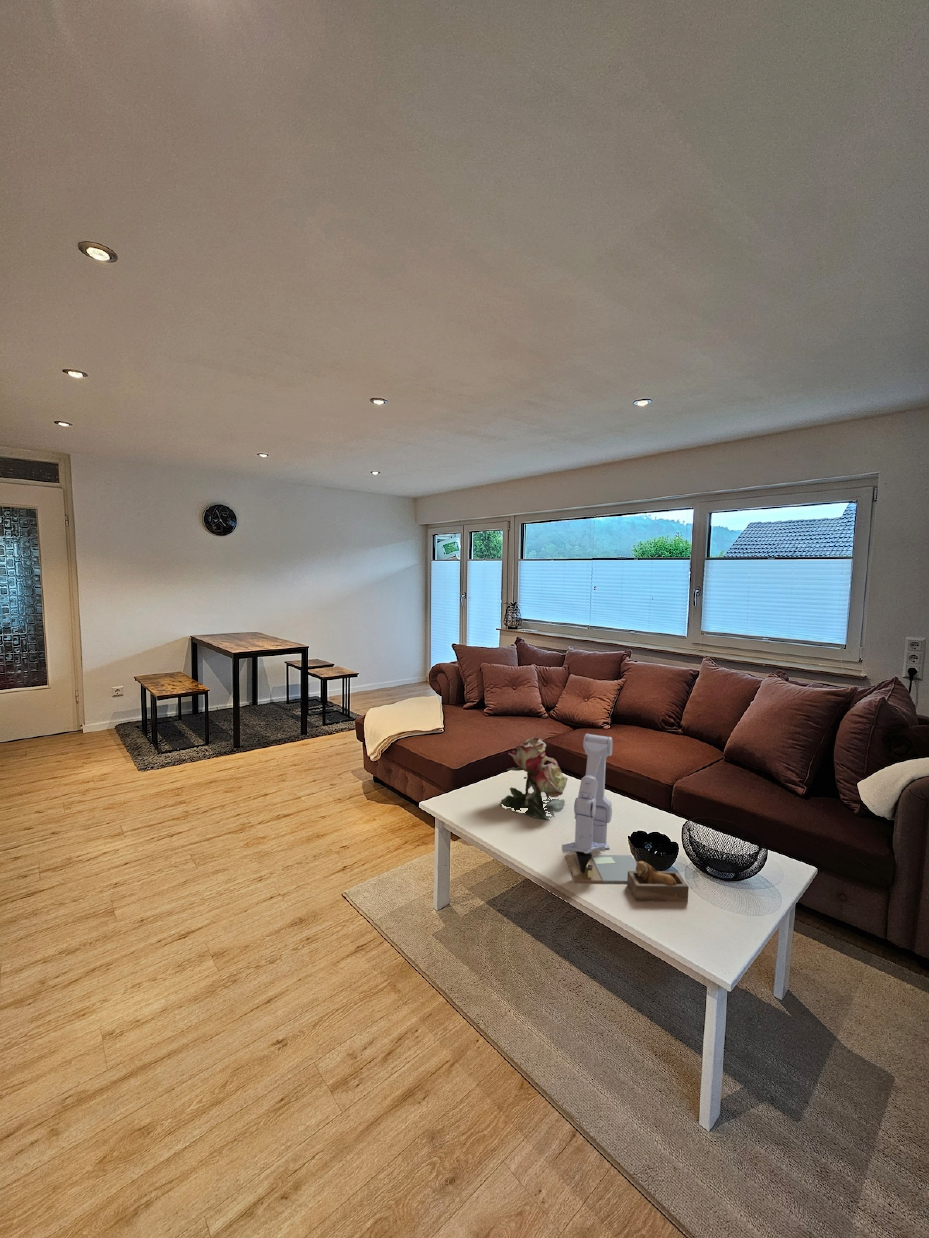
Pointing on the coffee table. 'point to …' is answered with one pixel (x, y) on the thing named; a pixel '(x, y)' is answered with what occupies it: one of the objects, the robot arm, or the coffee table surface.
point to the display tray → (657, 888)
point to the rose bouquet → (537, 780)
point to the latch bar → (589, 870)
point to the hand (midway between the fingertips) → (582, 871)
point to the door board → (603, 868)
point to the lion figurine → (653, 875)
